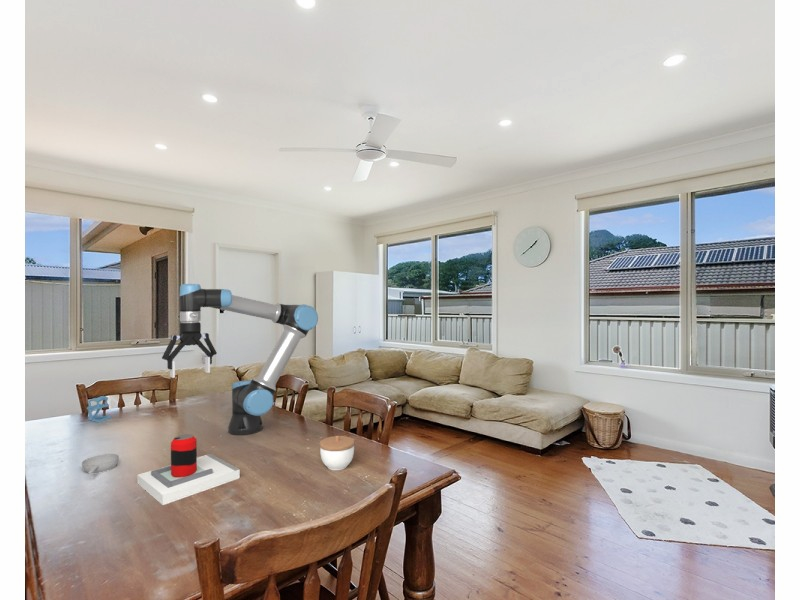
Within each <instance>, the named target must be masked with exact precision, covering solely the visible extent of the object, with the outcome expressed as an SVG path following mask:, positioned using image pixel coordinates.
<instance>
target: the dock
mask: <svg viewBox="0 0 800 600" xmlns="http://www.w3.org/2000/svg"><path fill="white" fill-rule="evenodd" d="M240 472H241V471H240V468H238V467H236V466H234V465H233V464H231V463H229V462H227V461H225V460H224V459H222V458H219V457H217V456H215V455H214V454H212V453H208V454H205V455H202V456H201V455H200V456H197V470H196V472H195V473H194V474H192V475H189V476H186V477H179V478H178V477H173V476H172V475H171V464H170V465H166V466H163V467H160V468H156V469H153V470H148V471H146V472H142V473H138V474H137V485H138V484H139V485H138V486H139V487H141V488H142V489H143V490H144V491H145V490H146V491H145V492H147V493H148V494H149V495H150V496H151V497H153V498H154V500H156V501H157V502H158V503H159V504H160V505H162V506H164V505H168V504H171V503H173V502H176V501H178V500H179V501H180V500H182V499H184V498H187V497H190V496H192V495H197V494H199V493H202V492H204V491H207V490H210V489H212V488H216V487H218V486H221V485H224V484H227V483H230V482H234V481H236V480H238V479H240Z"/></svg>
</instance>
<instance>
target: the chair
mask: <svg viewBox="0 0 800 600" xmlns="http://www.w3.org/2000/svg"><path fill="white" fill-rule="evenodd" d="M108 400H109V397H107V396H105V395H101V396H98V397H93V398H92V399H88V400H87V402H88V406H87V407H86V409H87V410H88V421H90V420H92V422H96V423H100V422H104V421H106V420H110V419H111V418H112V415H106V416H103V415H101V416H98V414H99V412H100V411H101V409H102V408H107V407H109V406H110V404H109V403H108ZM102 401H104V403H103V404H102V403H100V402H102ZM91 402H96V404H94V405H92V403H91ZM94 410H96V411H95V413H94V415H93V411H94Z"/></svg>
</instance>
